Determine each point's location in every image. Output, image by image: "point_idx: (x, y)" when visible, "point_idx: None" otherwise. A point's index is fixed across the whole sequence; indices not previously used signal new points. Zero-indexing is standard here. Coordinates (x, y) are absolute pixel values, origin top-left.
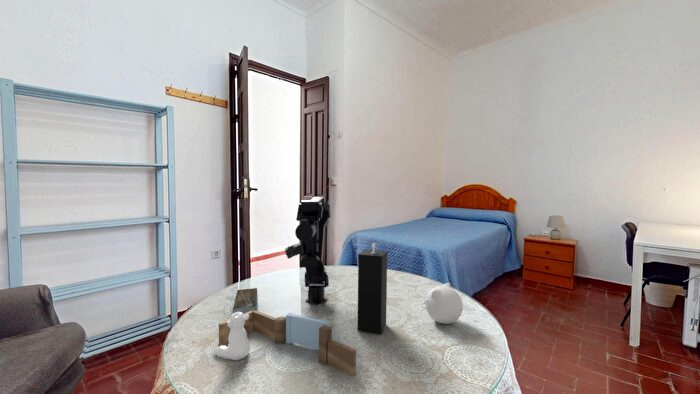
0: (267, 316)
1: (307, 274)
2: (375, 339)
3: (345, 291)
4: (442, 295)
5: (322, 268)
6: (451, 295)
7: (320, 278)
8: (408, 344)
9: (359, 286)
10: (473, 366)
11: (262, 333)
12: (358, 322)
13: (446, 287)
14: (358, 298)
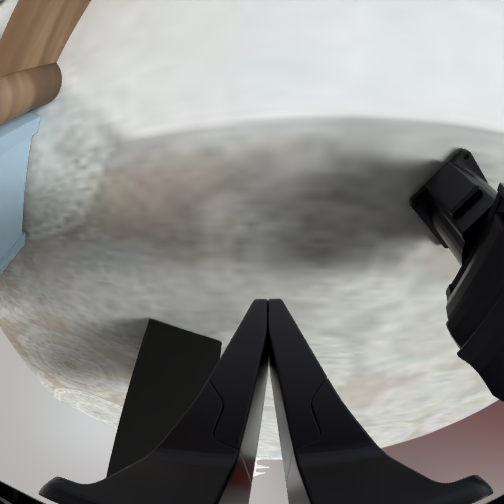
0: (17, 12)
1: (223, 360)
2: (116, 341)
3: None
4: None
5: (488, 376)
6: None
7: (456, 316)
8: (116, 378)
9: (112, 453)
10: (87, 406)
11: None
12: (142, 341)
13: None
14: (122, 411)
